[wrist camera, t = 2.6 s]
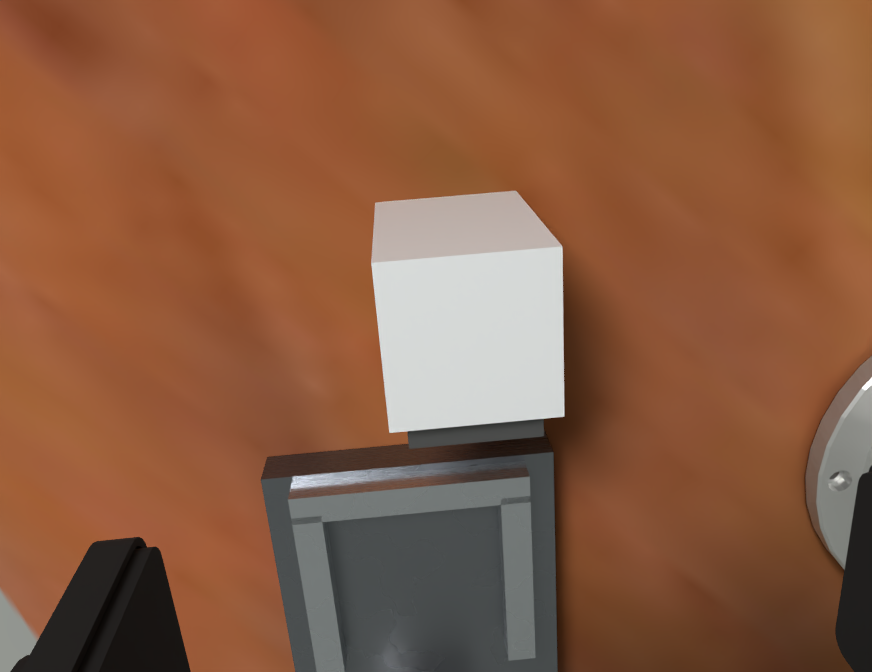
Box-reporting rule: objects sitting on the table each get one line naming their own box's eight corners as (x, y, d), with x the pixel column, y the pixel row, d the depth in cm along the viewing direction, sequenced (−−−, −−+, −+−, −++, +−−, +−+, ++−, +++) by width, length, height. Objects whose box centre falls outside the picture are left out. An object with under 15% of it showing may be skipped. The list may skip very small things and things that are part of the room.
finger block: (515, 190, 25) (562, 246, 18) (520, 344, 27) (564, 443, 20) (375, 202, 24) (371, 262, 18) (390, 355, 26) (392, 460, 20)
